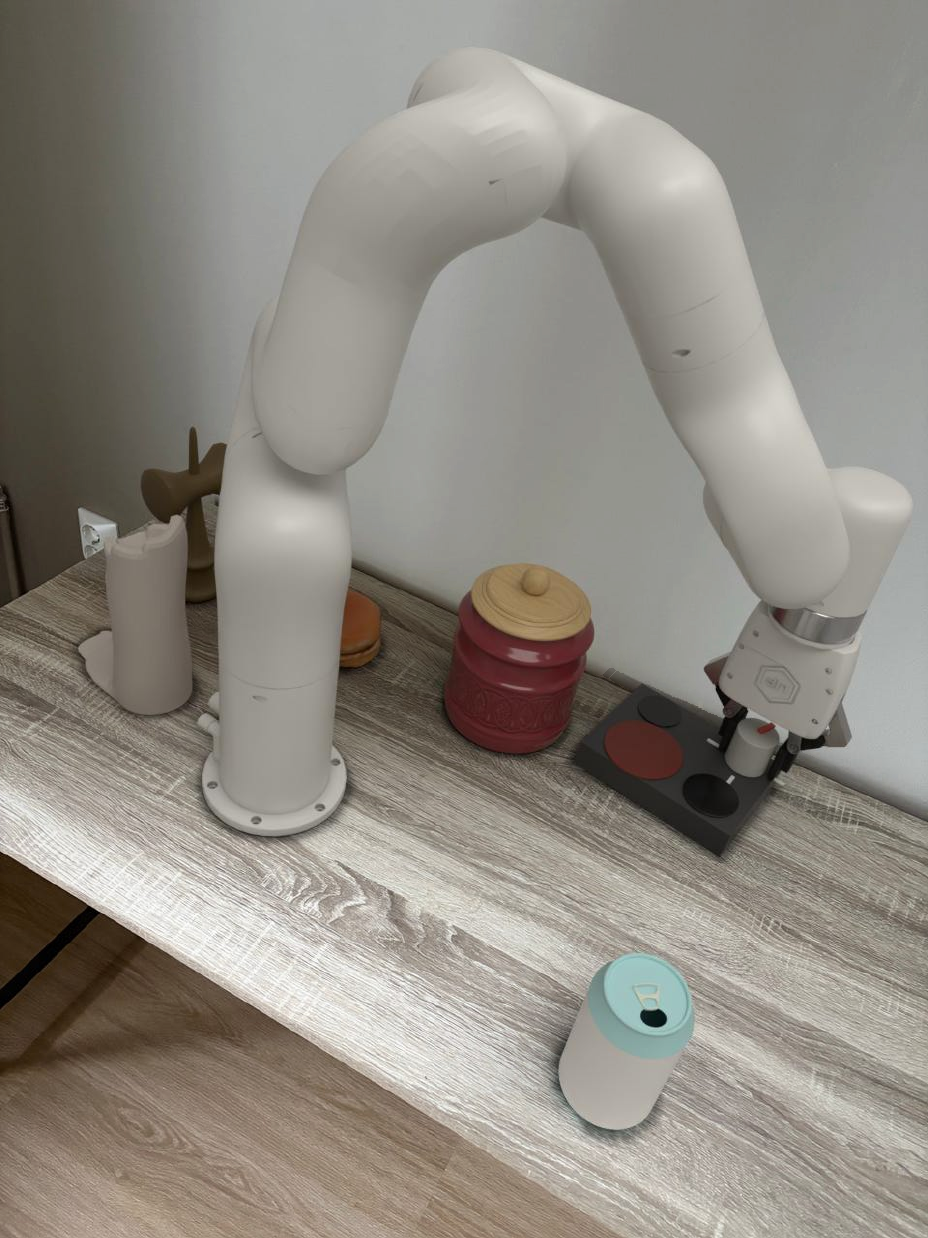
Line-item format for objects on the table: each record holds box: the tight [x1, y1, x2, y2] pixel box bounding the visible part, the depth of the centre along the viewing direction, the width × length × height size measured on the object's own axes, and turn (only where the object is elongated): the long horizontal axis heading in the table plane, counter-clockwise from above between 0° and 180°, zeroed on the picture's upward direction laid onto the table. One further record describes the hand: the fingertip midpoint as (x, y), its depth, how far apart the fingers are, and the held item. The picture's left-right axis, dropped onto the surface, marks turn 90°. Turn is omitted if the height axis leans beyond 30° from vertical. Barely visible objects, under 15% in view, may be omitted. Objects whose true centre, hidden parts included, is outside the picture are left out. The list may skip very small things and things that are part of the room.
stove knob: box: [725, 717, 781, 777], centre depth 93 cm, size 4×4×4 cm
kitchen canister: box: [443, 562, 595, 754], centre depth 94 cm, size 13×13×18 cm
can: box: [558, 952, 696, 1131], centre depth 66 cm, size 7×7×12 cm
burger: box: [339, 588, 382, 668], centre depth 102 cm, size 10×9×5 cm
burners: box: [604, 696, 739, 818], centre depth 93 cm, size 14×12×1 cm
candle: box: [77, 515, 193, 716], centre depth 90 cm, size 7×14×20 cm, turn 51°
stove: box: [573, 683, 786, 858], centre depth 95 cm, size 17×14×3 cm
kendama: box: [140, 426, 227, 603], centre depth 101 cm, size 6×10×20 cm, turn 139°
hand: (752, 755), depth 94 cm, fingers open, 4 cm apart
